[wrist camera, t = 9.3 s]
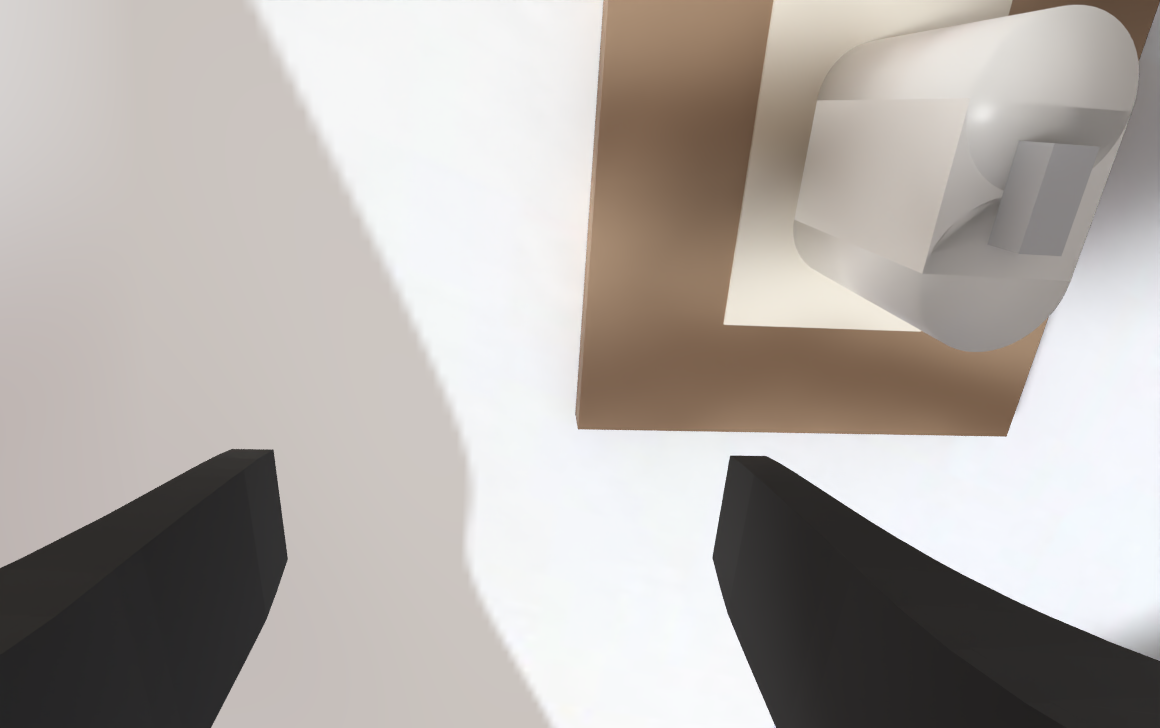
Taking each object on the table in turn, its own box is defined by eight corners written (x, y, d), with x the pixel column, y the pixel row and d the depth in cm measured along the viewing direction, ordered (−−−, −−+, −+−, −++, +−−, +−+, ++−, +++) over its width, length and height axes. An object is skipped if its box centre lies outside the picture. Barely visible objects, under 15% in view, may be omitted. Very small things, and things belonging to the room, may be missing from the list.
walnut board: (985, 422, 22) (1008, 437, 21) (575, 414, 20) (578, 430, 19) (1180, -158, 16) (1225, -175, 15) (618, -226, 14) (626, -252, 13)
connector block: (884, 278, 18) (1076, 370, 12) (783, 273, 18) (925, 365, 12) (943, 44, 16) (1217, 6, 10) (829, 34, 16) (1035, -12, 9)
